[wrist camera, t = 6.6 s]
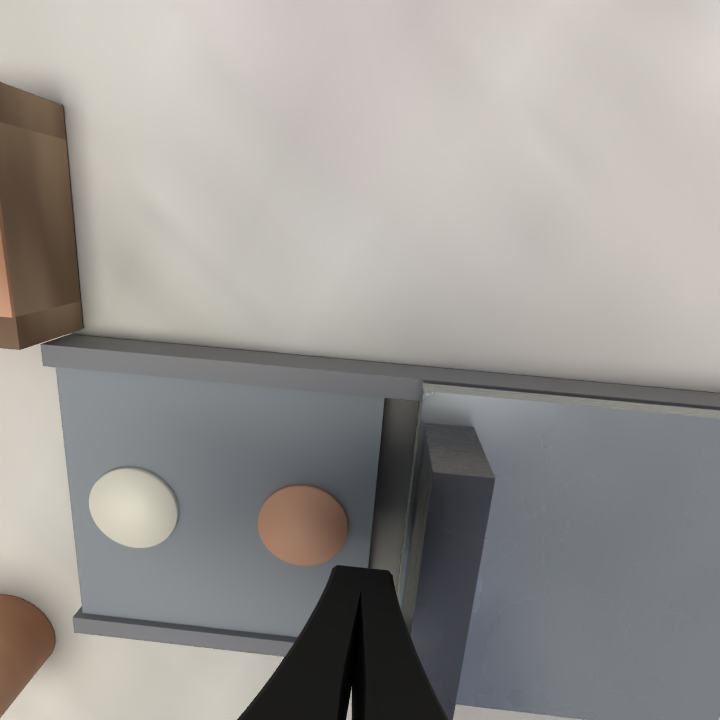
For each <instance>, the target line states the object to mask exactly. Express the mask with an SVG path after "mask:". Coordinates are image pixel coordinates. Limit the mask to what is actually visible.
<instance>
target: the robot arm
mask: <svg viewBox="0 0 720 720" xmlns="http://www.w3.org/2000/svg"><path fill="white" fill-rule="evenodd" d="M351 687H352V720H448V718H447V716H446V714H445V712H444V710H443V708H442V706H441V704H440V702H439V700H438V698H437V696H436V694H435V692H434V690H433V688H432V686H431V684H430V681H429V679H428V677H427V675H426V673H425V671H424V668H423V666H422V664H421V662H420V659H419V657H418V655H417V652H416V649H415V647H414V644H413V642H412V639H411V637H410V634H409V632H408V629H407V626H406V623H405V621H404V618H403V615H402V611H401V608H400V605H399V602H398V598H397V595H396V591H395V587H394V582H393V575H392V574H391V573H390V572H389V571H388V570H380V569H371V568H362V567H352V566H343V565H336V566H335V567H333V568H332V570H331V574H330V577H329V579H328V582H327V584H326V586H325V589H324V591H323V593H322V595H321V597H320V599H319V601H318V603H317V605H316V607H315V609H314V610H313V612H312V614H311V616H310V617H309V619H308V621H307V623H306V624H305V626H304V628H303V629H302V631H301V633H300V635H299V636H298V638H297V639H296V641H295V642H294V644H293V645H292V647H291V648H290V650H289V651H288V653H287V654H286V656H285V657H284V659H283V660H282V662H281V663H280V665H279V666H278V668H277V669H276V671H275V672H274V673H273V675H272V676H271V678H270V679H269V680H268V682H267V683H266V684H265V686H264V687H263V688H262V690H261V691H260V692H259V693H258V695H257V696H256V697H255V699H254V700H253V701H252V702H251V704H250V705H249V706H248V707H247V709H246V710H245V711H244V712H243V713H242V714H241V716H240V717H239V718H238V719H237V720H346V717H347V711H348V705H349V699H350V693H351Z"/></svg>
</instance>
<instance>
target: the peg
mask: <svg viewBox="0 0 720 720" xmlns="http://www.w3.org/2000/svg"><path fill="white" fill-rule="evenodd" d="M54 646H55V634H54V630H53V627H52V625H51V623H50V622H49V620H48V619H47V617H46V616H45V615H44V614H43V613H42V612H41V611H40V610H39V609H38V608H36V607H35V606H34V605H32V604H31V603H29V602H27V601H25V600H23V599H20V598H18V597H14V596H9V595H0V718H1V716H2V715H3V714H4V713H5V711H6V710H7V709H8V708H9V706H10V705H11V704H12V703H13V701H14V700H15V699H16V697H17V696H18V695H19V694H20V692H21V691H22V690H23V689H24V687H25V686H26V685H27V684H28V682H29V681H30V680H31V679H32V677H33V676H34V675H35V674H36V672H37V671H38V670H39V668H40V667H41V666H42V665H43V663H44V662H45V661H46V660H47V658H48V657H49V656H50V655H51V653H52V651H53V649H54Z"/></svg>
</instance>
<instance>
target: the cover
mask: <svg viewBox="0 0 720 720" xmlns="http://www.w3.org/2000/svg"><path fill="white" fill-rule="evenodd" d="M397 598H398V602H399V605H400V608H401V611H402V615H403V618H404V621H405V623H406V626H407V629H408V632H409V634H410V637H411V639H412V642H413V644H414V647H415V649H416V652H417V655H418V657H419V659H420V662H421V664H422V666H423V668H424V671H425V673H426V675H427V677H428V679H429V681H430V684H431V686H432V688H433V690H434V692H435V694H436V696H437V698H438V700H439V702H440V704H441V706H442V708H443V710H444V712H445V714H446V716H447V718H448V720H453V715H454V709H455V704H458V705H466V706H475V707H483V708H492V709H500V710H509V711H517V712H526V713H534V714H543V715H551V716H560V717H569V718H577V719H586V720H718V718H719V716H720V410H710V409H699V408H688V407H677V406H666V405H656V404H645V403H634V402H623V401H612V400H601V399H590V398H580V397H569V396H558V395H547V394H536V393H525V392H514V391H504V390H493V389H482V388H471V387H460V386H449V385H438V384H428V383H422V389H421V397H420V406H419V414H418V422H417V431H416V439H415V447H414V455H413V464H412V472H411V480H410V489H409V497H408V505H407V514H406V522H405V530H404V539H403V547H402V555H401V564H400V572H399V580H398V589H397Z"/></svg>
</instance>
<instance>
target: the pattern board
mask: <svg viewBox="0 0 720 720" xmlns="http://www.w3.org/2000/svg"><path fill="white" fill-rule="evenodd" d="M41 352H42V361H43V366H50V367H56V374H57V383H58V392H59V401H60V410H61V419H62V428H63V438H64V447H65V456H66V465H67V474H68V483H69V492H70V501H71V511H72V520H73V529H74V538H75V547H76V556H77V565H78V574H79V583H80V593H81V602H82V607H81V608H80V609H79V610H78V612H77V613H76V614H75V615H74V617H73V624H74V633H83V634H92V635H100V636H109V637H118V638H126V639H135V640H144V641H152V642H161V643H170V644H179V645H187V646H196V647H205V648H213V649H222V650H231V651H239V652H248V653H257V654H265V655H274V656H283V657H285V656H286V654H287V653H288V651H289V650H290V648H291V647H292V645H293V644H294V642H295V641H296V639H297V638H298V636H299V635H300V633H301V631H302V629H303V628H304V626H305V624H306V623H307V621H308V619H309V617H310V616H311V614H312V612H313V610H314V609H315V607H316V605H317V603H318V601H319V599H320V597H321V595H322V593H323V591H324V589H325V586H326V584H327V582H328V579H329V577H330V574H331V570H332V568H333V567H335V566H336V565H343V566H352V567H362V568H368V564H369V553H370V543H371V533H372V523H373V512H374V502H375V492H376V482H377V471H378V461H379V451H380V441H381V430H382V420H383V410H384V399H385V398H392V399H402V400H413V401H420V397H421V389H422V383H428V384H438V385H449V386H460V387H471V388H482V389H493V390H504V391H514V392H525V393H536V394H547V395H558V396H569V397H580V398H590V399H601V400H612V401H623V402H634V403H645V404H656V405H666V406H677V407H688V408H699V409H710V410H720V393H712V392H701V391H690V390H679V389H668V388H657V387H646V386H635V385H624V384H613V383H601V382H590V381H579V380H568V379H557V378H546V377H535V376H524V375H513V374H502V373H491V372H480V371H469V370H458V369H447V368H436V367H425V366H414V365H403V364H392V363H381V362H370V361H359V360H348V359H337V358H326V357H315V356H304V355H293V354H282V353H271V352H260V351H249V350H238V349H227V348H216V347H205V346H194V345H183V344H172V343H161V342H150V341H139V340H128V339H117V338H106V337H95V336H84V335H73V334H70V335H67V336H64V337H61V338H58V339H55V340H52V341H49V342H46V343H43V344H41Z"/></svg>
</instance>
